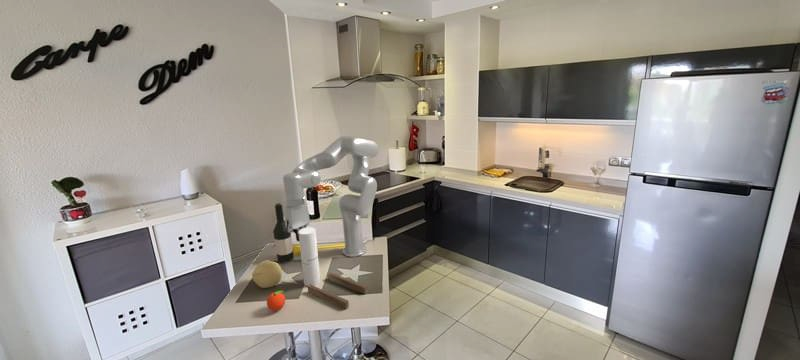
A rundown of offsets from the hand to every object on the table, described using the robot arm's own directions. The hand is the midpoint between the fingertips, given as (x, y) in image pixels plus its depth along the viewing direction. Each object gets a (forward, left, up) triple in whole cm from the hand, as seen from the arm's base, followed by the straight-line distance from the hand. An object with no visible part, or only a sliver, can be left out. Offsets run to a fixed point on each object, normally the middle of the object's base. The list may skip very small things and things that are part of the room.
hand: (300, 240), depth 146 cm
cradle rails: (0, +21, -19) cm, 28 cm away
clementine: (+20, +8, -19) cm, 29 cm away
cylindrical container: (0, +5, -19) cm, 20 cm away
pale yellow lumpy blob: (+11, -11, -19) cm, 25 cm away
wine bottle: (-8, -24, -19) cm, 32 cm away
